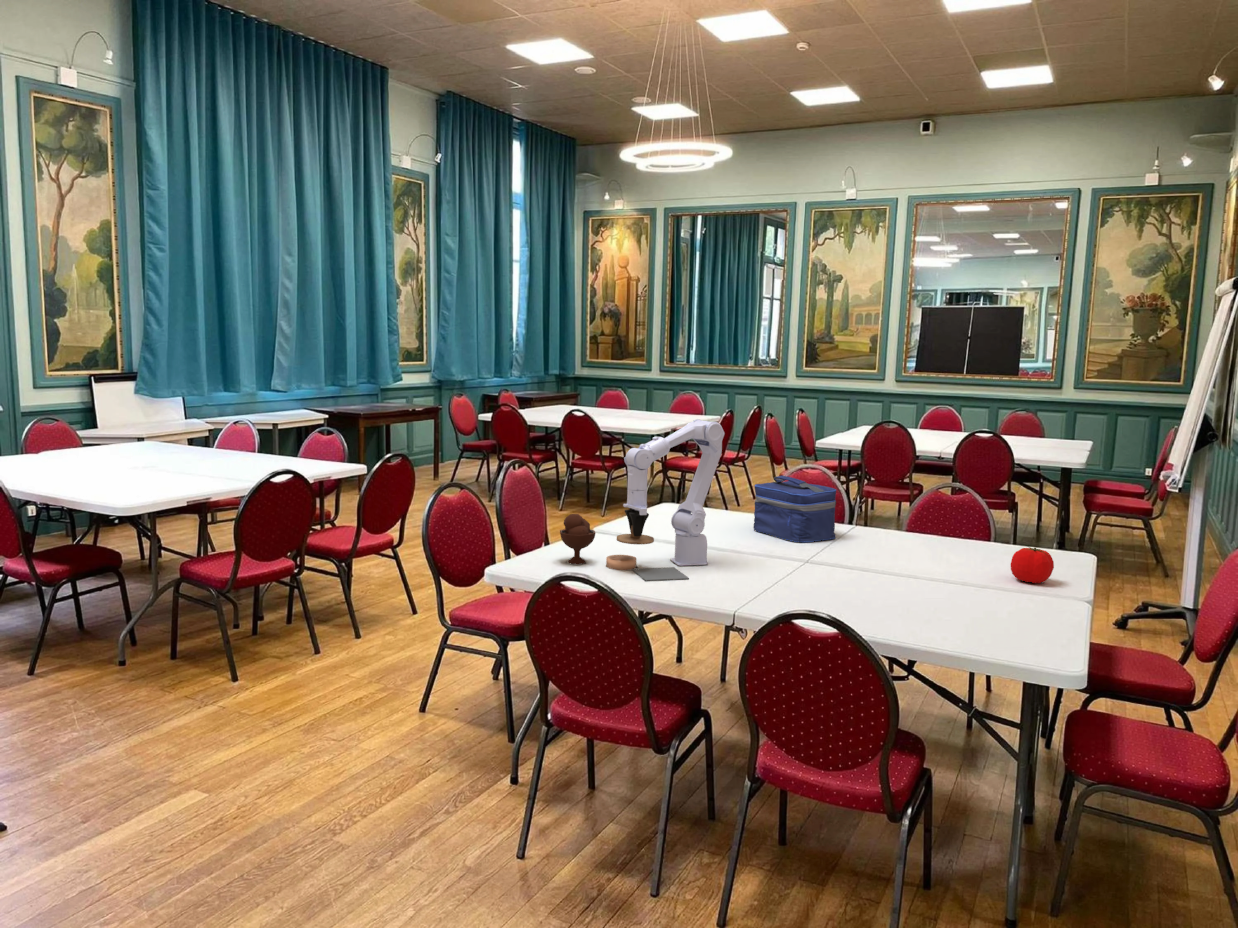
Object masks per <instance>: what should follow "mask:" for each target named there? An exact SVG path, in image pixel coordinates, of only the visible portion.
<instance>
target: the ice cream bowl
mask: <svg viewBox="0 0 1238 928" xmlns="http://www.w3.org/2000/svg"><path fill="white" fill-rule="evenodd" d="M590 524H591V523H590V522H588V521H587V520H586V519H585V518H583V516H581V515H580V514H579V513H571V514H568V515H567V516H566V517H565V518H564V521H563V526H564V527H565V528H564V529H560V530H559V534H560V539H561V541H562V543H564V544H565V546H567V547H568V548H570V549H572V550H573V552H574V554H573V557H571V558H569V559H568V560H567V563H568V564H570V563H571V565H584V564H586V563H587V562H586V559H585V558H583V557H581V553H580V552H581V550H582V549H585V548H587V547H588V546H589V545H591V544H592V543H593V542H594V541H595V540H594V539H595V538H596V531H595V530H594V529H591V525H590Z"/></svg>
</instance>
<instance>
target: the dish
mask: <svg viewBox="0 0 1238 928" xmlns="http://www.w3.org/2000/svg"><path fill="white" fill-rule="evenodd" d="M605 559H606V563H605V567H606V568H608V569H611V570H617V571H629V570H632V569H637V557H636V556H633V555H628V554H612V555H607V556H606V558H605Z"/></svg>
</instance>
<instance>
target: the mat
mask: <svg viewBox="0 0 1238 928" xmlns="http://www.w3.org/2000/svg"><path fill="white" fill-rule="evenodd" d="M631 571H633V572H634V573H635V574H636V575H637V576H638V577H639V578H640V579H642V580H643V581H644V582H661V581H663V582H664V581H683V580H684V581H685V580H690V578H689V577H688V576H687V575H685V574H684V573H683V572H681V570H679V569H677V568H676V567H674V566H672V567H671V566H666V567H642V568H634V569H631Z"/></svg>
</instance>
